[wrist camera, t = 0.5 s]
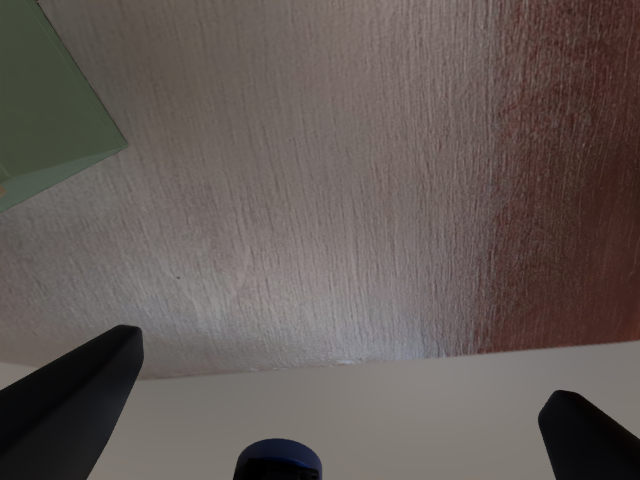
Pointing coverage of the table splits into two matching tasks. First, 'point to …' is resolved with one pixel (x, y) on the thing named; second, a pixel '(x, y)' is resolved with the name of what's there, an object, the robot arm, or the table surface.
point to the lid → (2, 191)
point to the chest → (44, 108)
